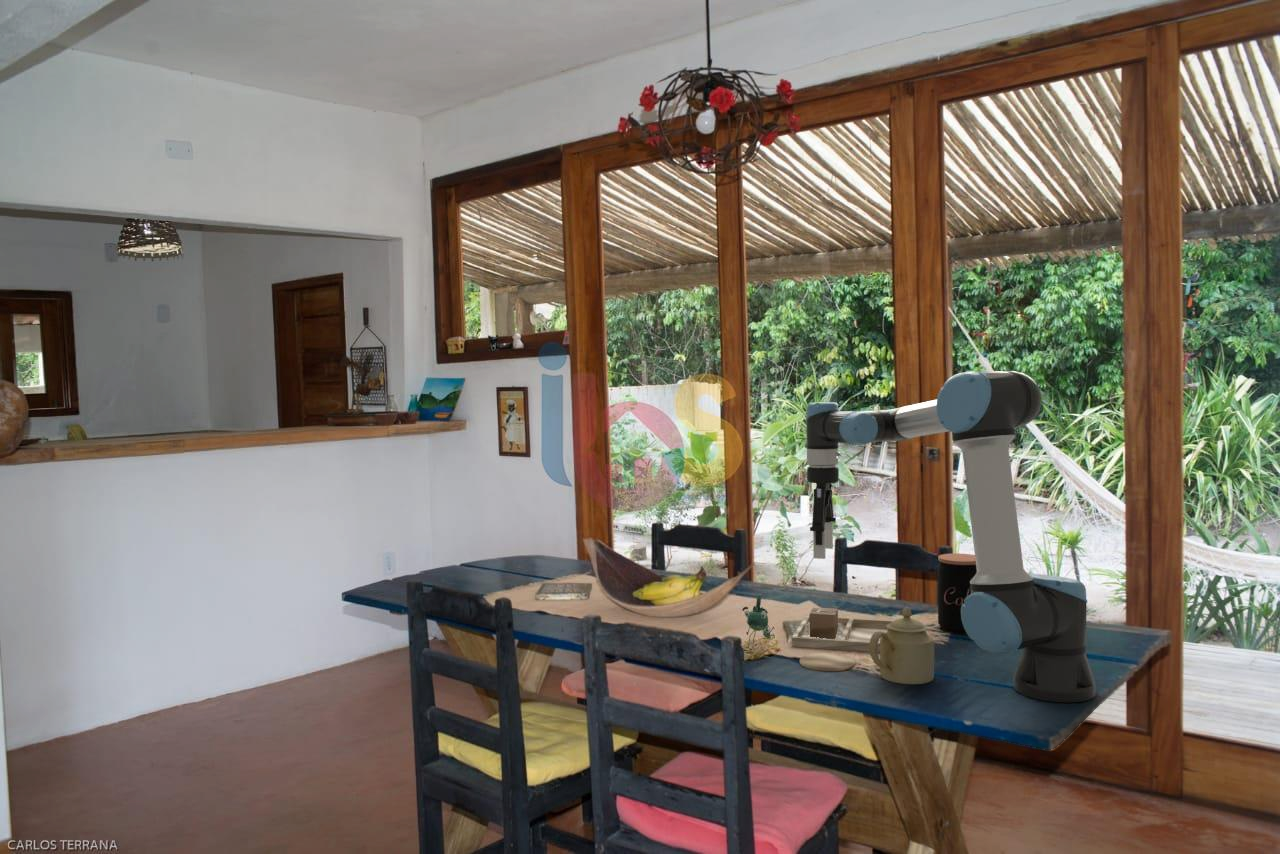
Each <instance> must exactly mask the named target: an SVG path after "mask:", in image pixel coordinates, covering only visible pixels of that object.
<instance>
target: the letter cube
mask: <svg viewBox="0 0 1280 854" xmlns="http://www.w3.org/2000/svg"><path fill="white" fill-rule="evenodd" d="M809 615H810V637H816V638H817V637H819V638H826V639H835V638H836V634H837V631H838V617H839V609H838V608H825V607H813V608H812V609H811V610H810V612H809Z"/></svg>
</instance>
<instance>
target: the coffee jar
mask: <svg viewBox="0 0 1280 854" xmlns="http://www.w3.org/2000/svg"><path fill="white" fill-rule="evenodd" d="M937 559H938V561H939V564H938V567H937V624H938V625H939V627H940V629H941V630H943V631H945V632H949V633H953V634H954V633H955V634H967V633H966V631H965V629H964V626H963V623H962V619H961V607H962V604H963V603H964V600H965V599H966V598H967V597H968V596H969V595H970V594H971V586H970V581H971V579H972V578H973V577H974V576H975V575H976V573H977V568H976V560H975V554H970V553H969V554H968V553H944V554H943V553H942V554H940V555H938V557H937Z"/></svg>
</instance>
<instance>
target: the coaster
mask: <svg viewBox="0 0 1280 854" xmlns="http://www.w3.org/2000/svg"><path fill="white" fill-rule="evenodd" d="M799 664H800V665H801V666H802V667H803V668H806V669H809V670H812V671H813V670H814V671H817V672H841V671H843V672H844V671H849V670H850V669H852V668H855V665H856V663H855V660H854V659H853V658H852V657H849V656H846V655H843V654H838V653H837V654H836V653H830V652H829V653H827V652H826V653H825V652H822V653H821V652H820V653H809V654H807V655H806V654H805V655H803V656H802V657H800V658H799Z"/></svg>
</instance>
